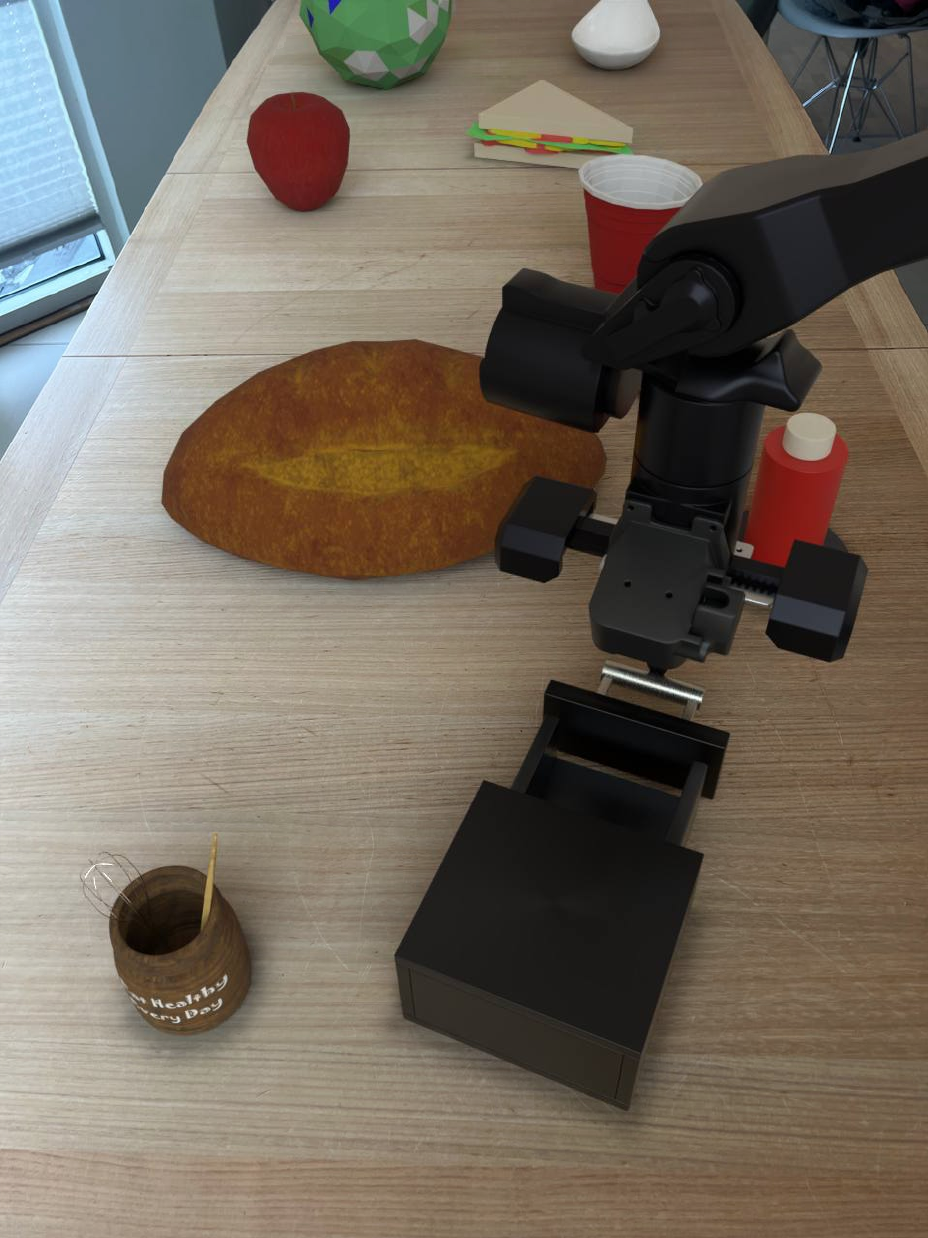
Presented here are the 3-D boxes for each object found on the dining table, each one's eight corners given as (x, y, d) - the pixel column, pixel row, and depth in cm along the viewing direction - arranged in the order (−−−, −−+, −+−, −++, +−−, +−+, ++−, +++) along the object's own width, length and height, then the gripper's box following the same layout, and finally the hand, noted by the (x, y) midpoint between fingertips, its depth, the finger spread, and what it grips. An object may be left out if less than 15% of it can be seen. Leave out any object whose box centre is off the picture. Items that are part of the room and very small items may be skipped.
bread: (190, 427, 87) (155, 288, 79) (588, 411, 88) (598, 270, 79) (146, 608, 73) (98, 460, 64) (626, 586, 73) (643, 437, 64)
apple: (371, 212, 115) (362, 98, 107) (277, 234, 112) (260, 118, 103) (334, 175, 122) (322, 65, 114) (245, 194, 119) (226, 83, 110)
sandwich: (562, 203, 115) (563, 156, 112) (449, 149, 126) (448, 105, 123) (661, 163, 122) (666, 118, 118) (546, 115, 133) (548, 73, 129)
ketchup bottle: (824, 539, 75) (861, 412, 67) (810, 587, 71) (847, 458, 64) (750, 521, 76) (778, 395, 69) (733, 567, 73) (760, 439, 65)
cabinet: (484, 848, 59) (483, 779, 54) (687, 921, 55) (704, 853, 51) (402, 1019, 52) (393, 955, 47) (628, 1112, 49) (641, 1054, 44)
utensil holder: (144, 932, 56) (79, 798, 47) (265, 925, 56) (222, 789, 47) (125, 1045, 51) (50, 919, 43) (256, 1036, 52) (207, 910, 43)
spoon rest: (652, 80, 140) (658, 20, 135) (564, 76, 143) (566, 16, 137) (668, 24, 157) (674, -32, 152) (589, 20, 159) (592, -35, 154)
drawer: (571, 681, 66) (575, 628, 63) (735, 730, 63) (748, 677, 60) (487, 858, 57) (486, 807, 54) (673, 924, 54) (684, 875, 51)
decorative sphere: (412, 143, 143) (280, 67, 131) (390, 64, 154) (265, -13, 142) (499, 17, 131) (362, -79, 119) (468, -59, 142) (340, -153, 130)
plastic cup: (704, 322, 97) (724, 192, 89) (590, 337, 96) (599, 207, 87) (664, 267, 105) (679, 142, 96) (558, 280, 103) (563, 155, 95)
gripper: (447, 504, 49) (457, 720, 60) (866, 613, 43) (791, 829, 54) (534, 378, 56) (528, 592, 67) (904, 459, 50) (830, 678, 62)
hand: (658, 668), depth 62 cm, fingers closed, pressing on drawer
